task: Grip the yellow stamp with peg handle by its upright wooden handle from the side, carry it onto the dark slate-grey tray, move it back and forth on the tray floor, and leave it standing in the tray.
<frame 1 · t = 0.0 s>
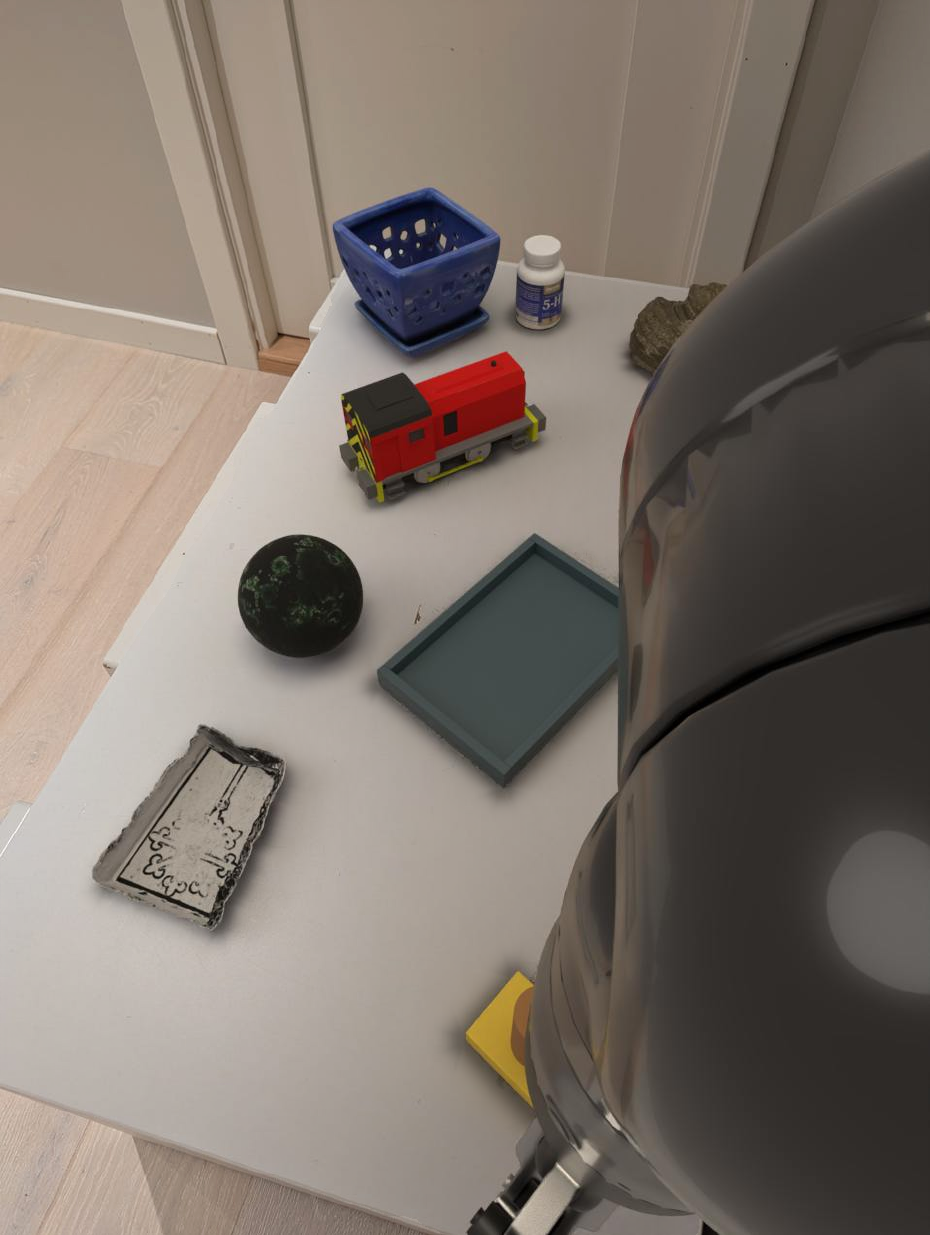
hand: (607, 1109, 35), 21 cm above the table, tool pointing down, fingers open, 8 cm apart
decorative stone: (311, 633, 74), on the table
stamp with peg handle: (533, 1049, 55), on the table
flower pot: (422, 327, 99), on the table
seashell: (653, 356, 95), on the table
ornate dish: (210, 832, 64), on the table
tray: (519, 657, 72), on the table
toy train: (445, 460, 86), on the table
pill bottle: (538, 318, 100), on the table
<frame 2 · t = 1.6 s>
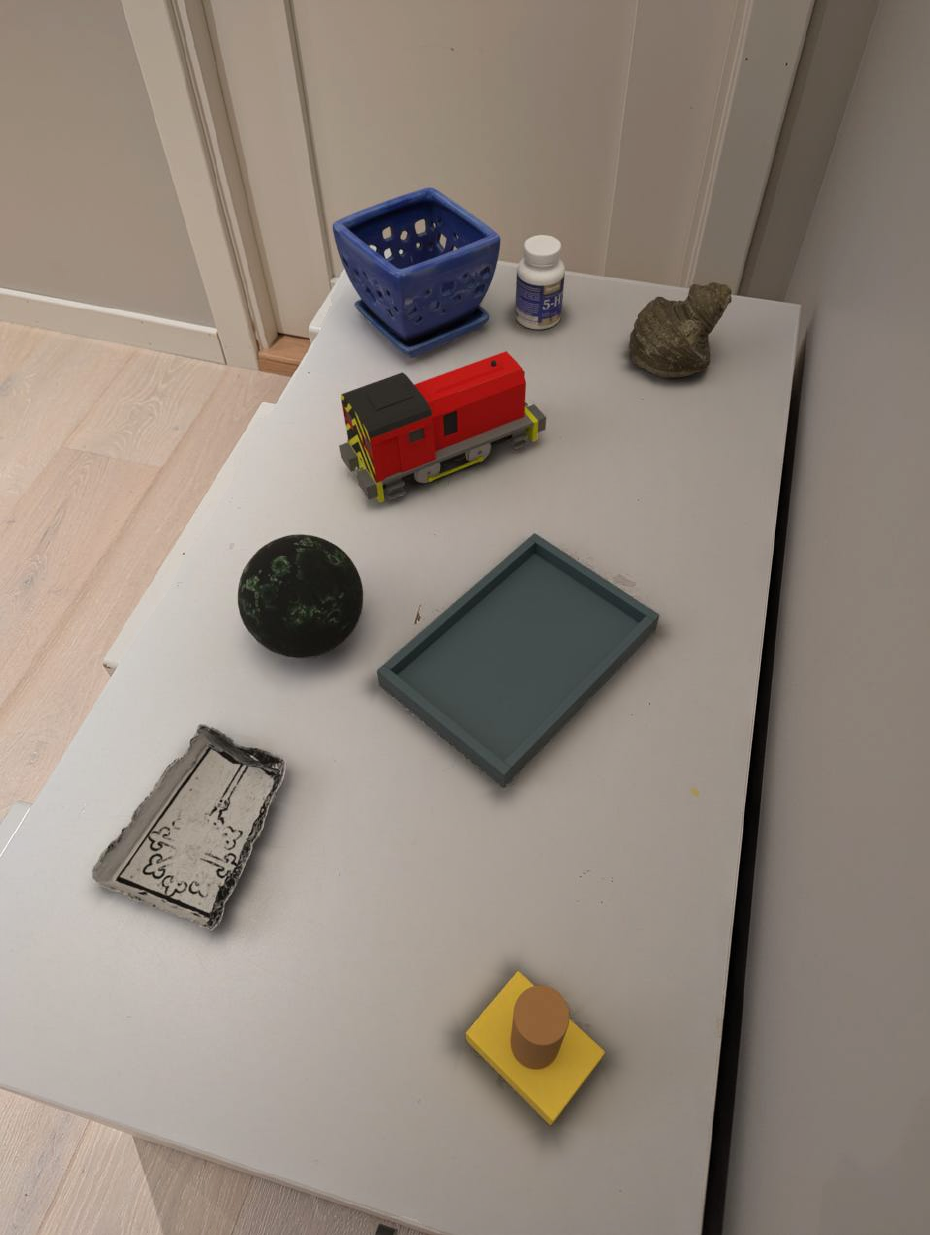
nothing on the table moved.
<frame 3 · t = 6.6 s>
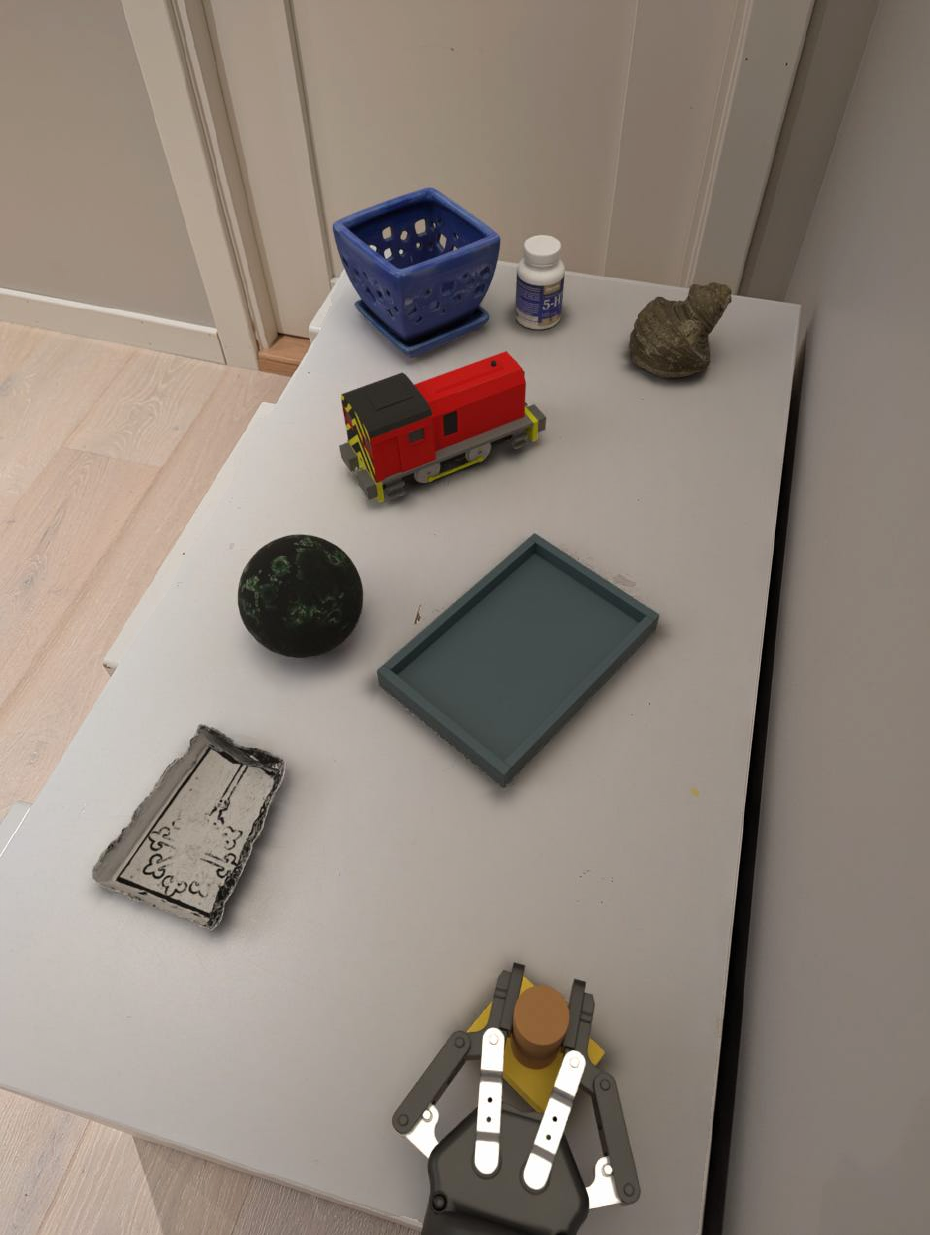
hand: (548, 976, 51), 7 cm above the table, tool horizontal, fingers closed on stamp with peg handle, 3 cm apart
stamp with peg handle: (533, 1049, 55), on the table, touching gripper
everything else where it was.
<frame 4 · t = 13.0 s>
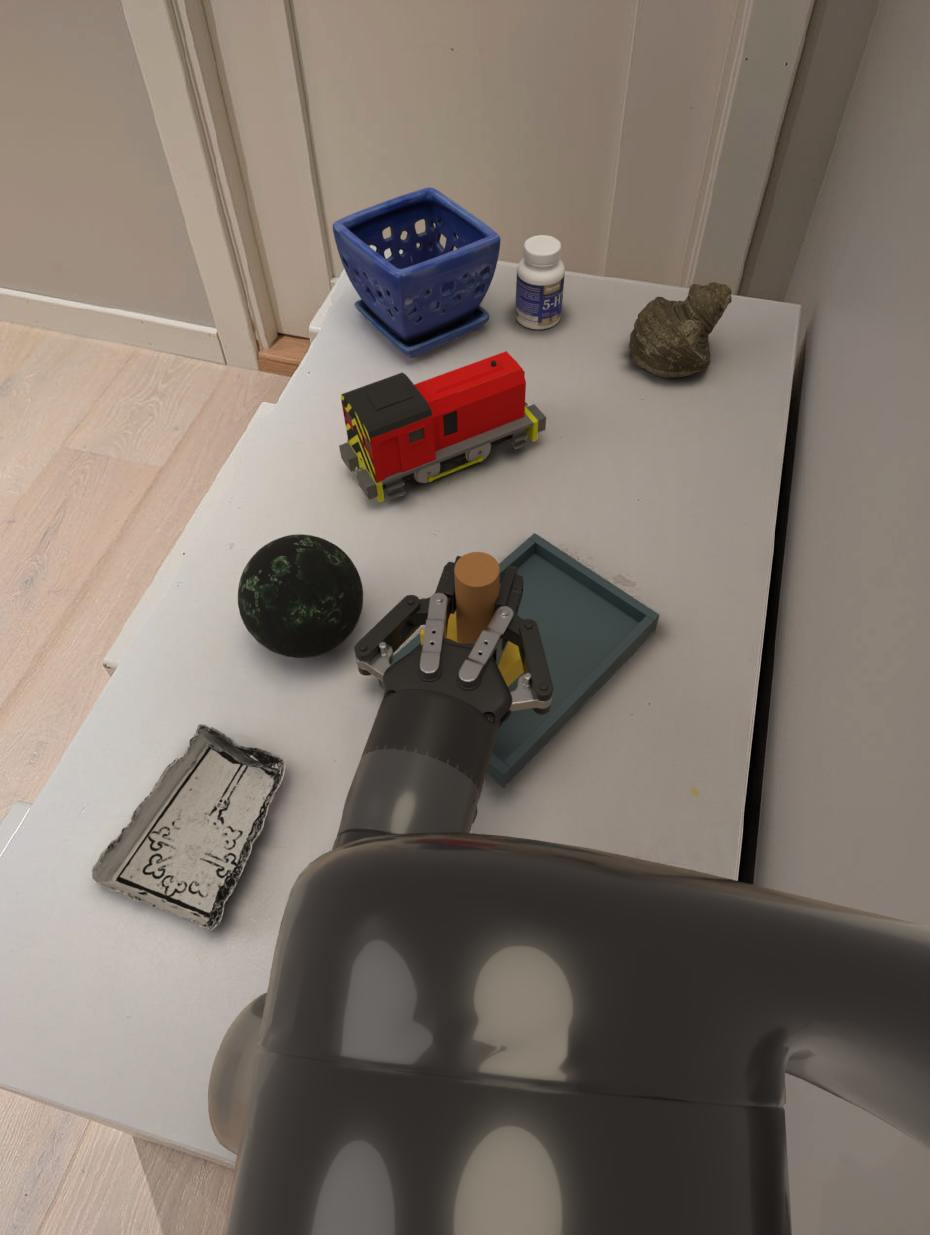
hand: (486, 569, 61), 13 cm above the table, tool horizontal, fingers closed on stamp with peg handle, 3 cm apart
stamp with peg handle: (477, 656, 65), point 6 cm above the table, touching gripper
everything else where it was.
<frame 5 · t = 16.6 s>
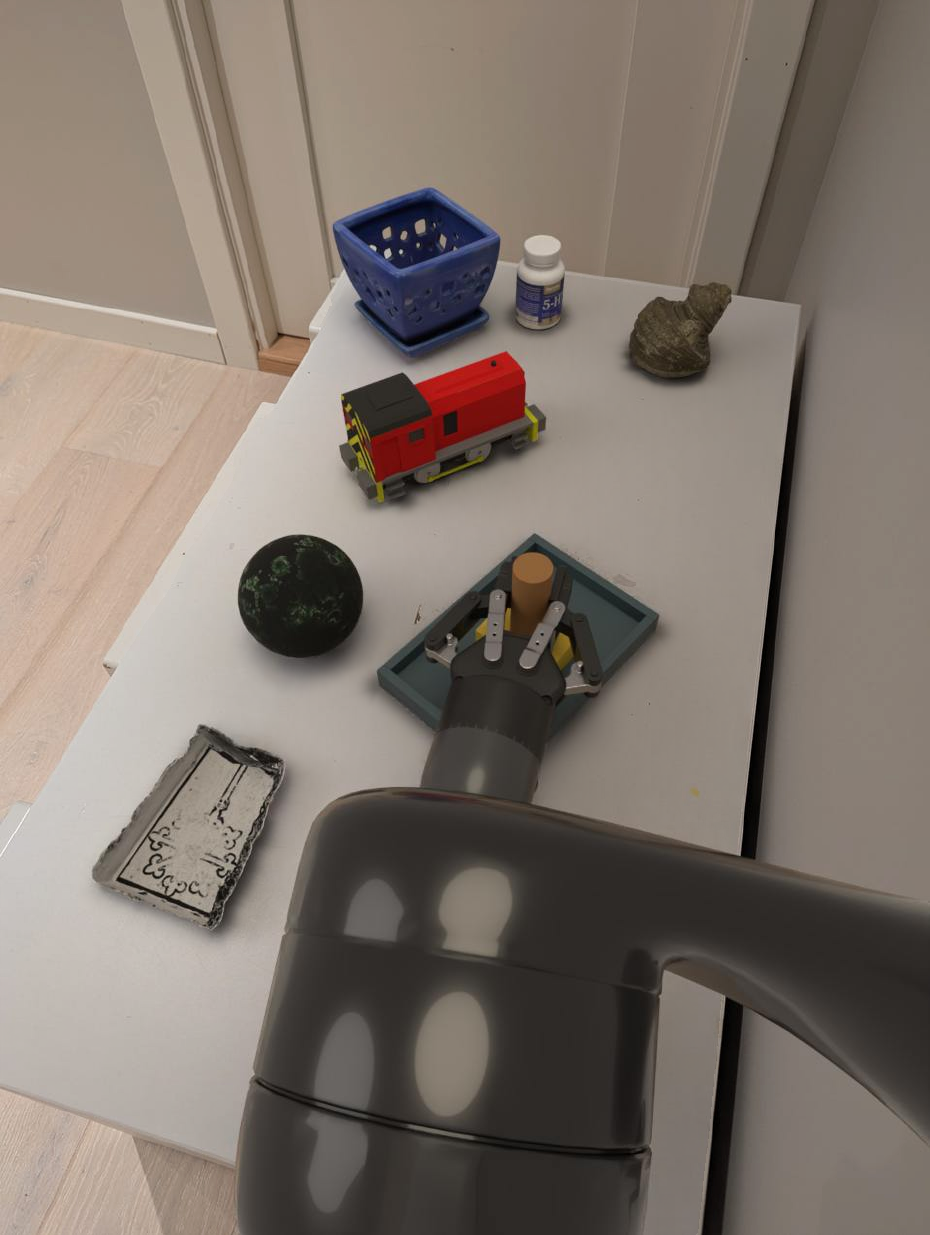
hand: (538, 568, 68), 8 cm above the table, tool horizontal, fingers closed on stamp with peg handle, 3 cm apart
stamp with peg handle: (526, 649, 72), point 1 cm above the table, touching gripper, tray
everything else where it was.
when the fingers open (8 cm above the table, at t = 19.4 s): stamp with peg handle stays where it is, resting on tray.
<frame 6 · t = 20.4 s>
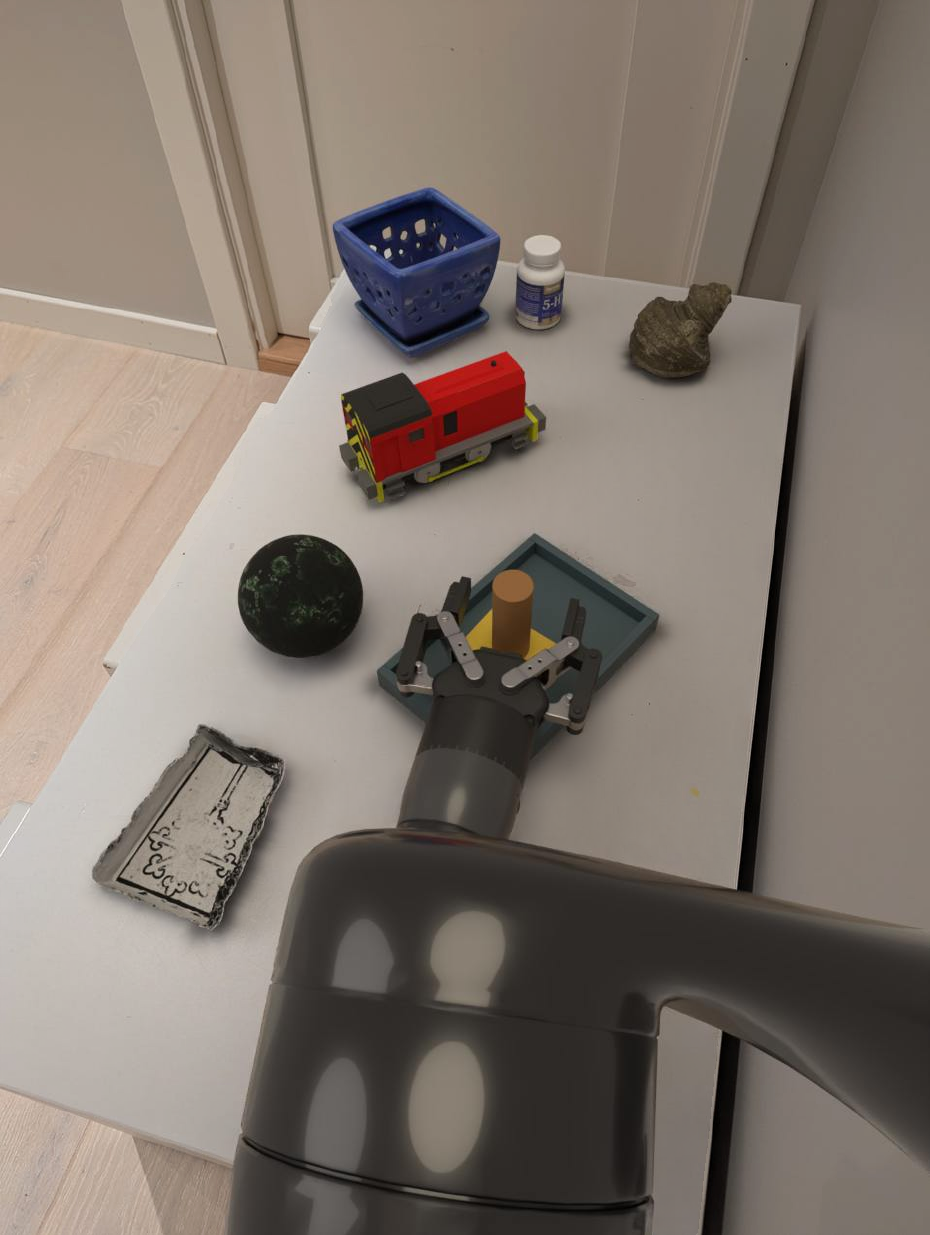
hand: (519, 593, 67), 7 cm above the table, tool horizontal, fingers open, 8 cm apart
stamp with peg handle: (510, 663, 71), point 1 cm above the table, touching tray
everything else where it was.
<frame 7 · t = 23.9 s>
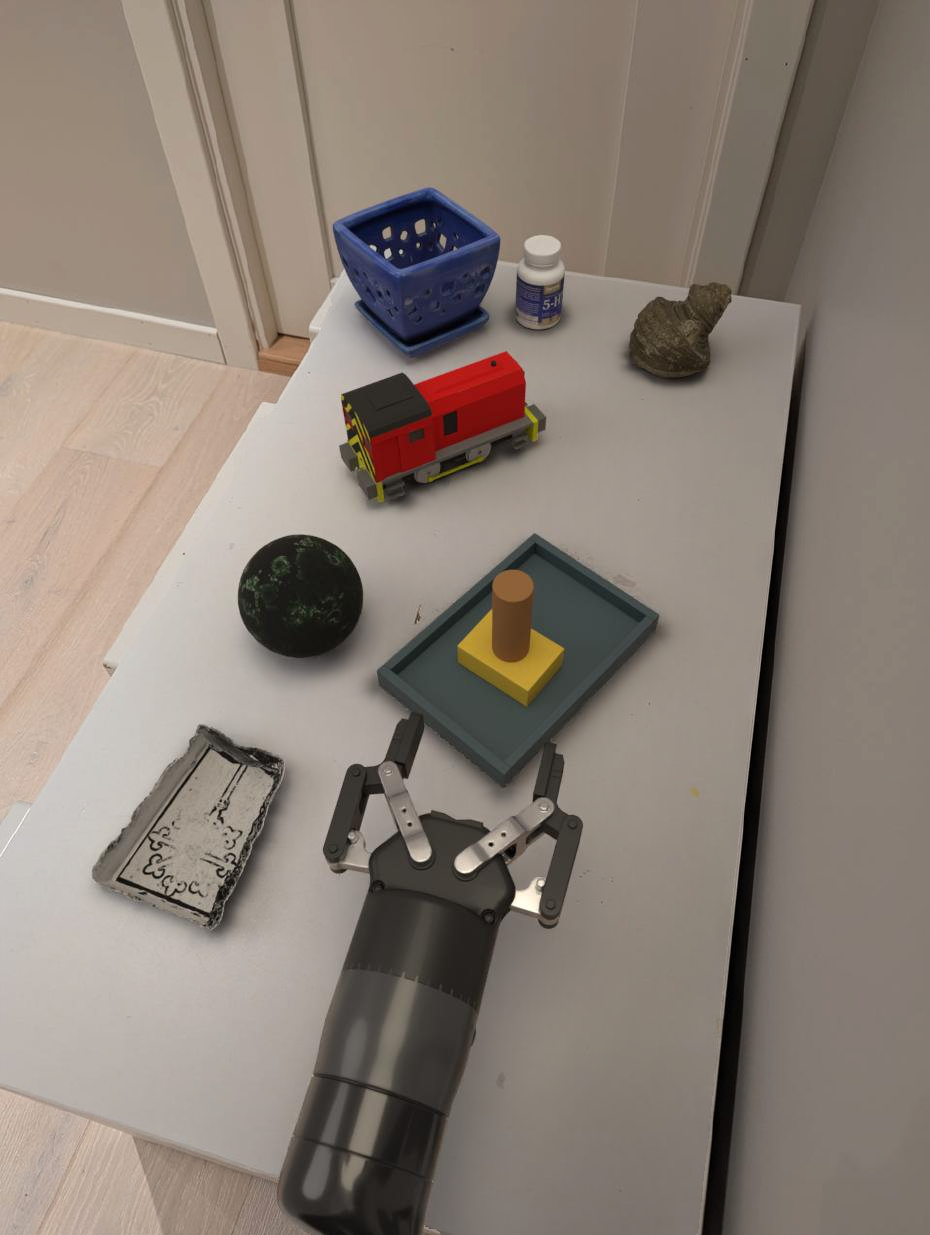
hand: (483, 733, 54), 13 cm above the table, tool horizontal, fingers open, 8 cm apart
nothing on the table moved.
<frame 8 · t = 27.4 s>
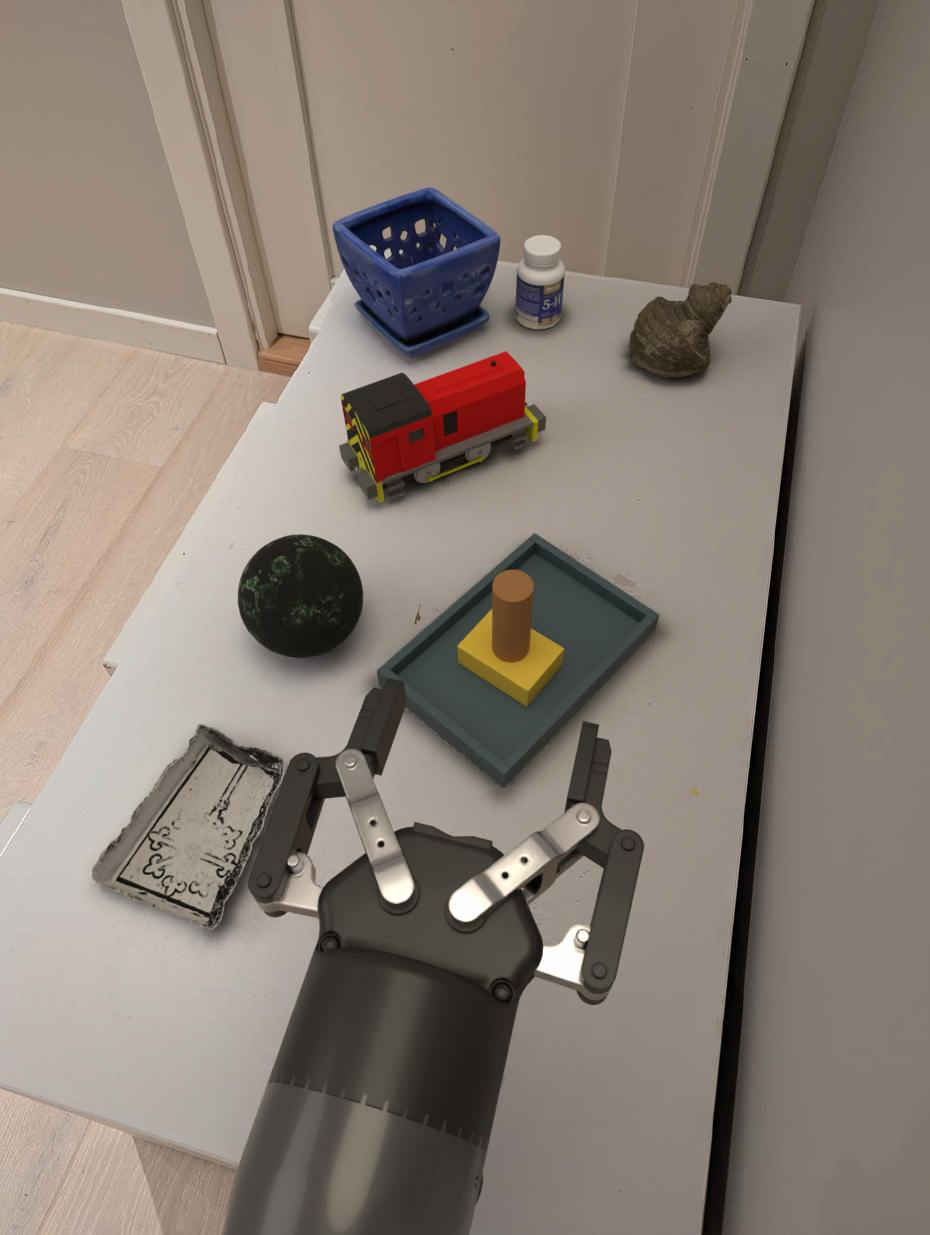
hand: (491, 709, 37), 28 cm above the table, tool horizontal, fingers open, 8 cm apart
nothing on the table moved.
at the end: stamp with peg handle inside the target area in the tray (1.4 cm from its centre), point 0.8 cm above the tray's base; stamp with peg handle tilted 0°; the gripper is holding nothing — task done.
